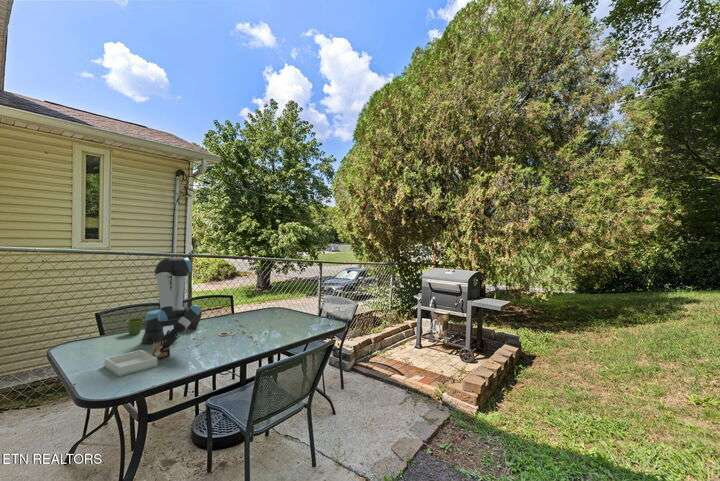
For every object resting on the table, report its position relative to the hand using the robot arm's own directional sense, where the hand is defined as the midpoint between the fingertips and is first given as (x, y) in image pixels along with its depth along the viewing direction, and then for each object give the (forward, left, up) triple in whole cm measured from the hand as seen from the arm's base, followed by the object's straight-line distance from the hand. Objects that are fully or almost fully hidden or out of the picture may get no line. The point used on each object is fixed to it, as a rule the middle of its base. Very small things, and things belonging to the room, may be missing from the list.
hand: (154, 355), depth 206 cm
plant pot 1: (-68, +15, -4) cm, 70 cm away
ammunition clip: (0, +4, -4) cm, 5 cm away
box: (0, -13, -3) cm, 13 cm away
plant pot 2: (-52, +53, -4) cm, 74 cm away
